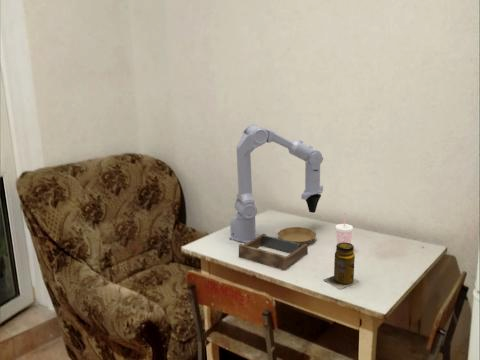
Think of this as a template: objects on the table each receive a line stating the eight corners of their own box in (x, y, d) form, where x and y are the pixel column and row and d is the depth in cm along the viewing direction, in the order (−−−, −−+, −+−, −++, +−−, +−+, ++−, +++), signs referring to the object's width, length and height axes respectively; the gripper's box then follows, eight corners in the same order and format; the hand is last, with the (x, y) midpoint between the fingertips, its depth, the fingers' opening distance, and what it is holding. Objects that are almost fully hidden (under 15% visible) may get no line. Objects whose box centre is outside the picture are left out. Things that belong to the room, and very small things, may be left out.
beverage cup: (331, 250, 164) (332, 214, 161) (340, 245, 169) (341, 209, 165) (346, 255, 160) (347, 217, 157) (355, 249, 165) (356, 213, 161)
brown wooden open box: (238, 256, 161) (238, 245, 160) (263, 242, 173) (263, 231, 172) (285, 270, 150) (285, 257, 149) (307, 253, 163) (307, 241, 161)
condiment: (359, 281, 142) (361, 246, 138) (340, 289, 137) (341, 253, 134) (342, 273, 147) (343, 238, 144) (323, 280, 143) (324, 245, 140)
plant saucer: (272, 235, 180) (272, 229, 179) (306, 231, 184) (306, 225, 183) (285, 250, 166) (285, 243, 166) (322, 245, 170) (322, 238, 169)
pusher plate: (262, 245, 170) (261, 235, 169) (263, 244, 171) (263, 234, 170) (299, 255, 161) (299, 244, 160) (300, 254, 162) (300, 243, 161)
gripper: (313, 185, 171) (312, 219, 175) (330, 176, 182) (329, 208, 186) (296, 182, 175) (296, 215, 179) (314, 174, 186) (313, 205, 190)
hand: (312, 211), depth 183 cm, fingers closed
